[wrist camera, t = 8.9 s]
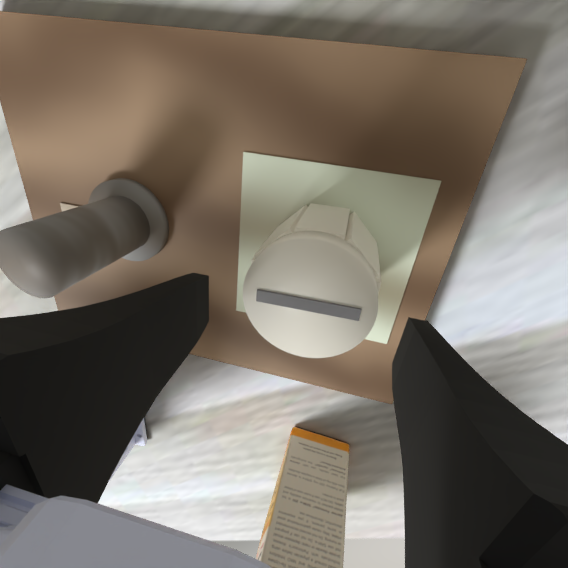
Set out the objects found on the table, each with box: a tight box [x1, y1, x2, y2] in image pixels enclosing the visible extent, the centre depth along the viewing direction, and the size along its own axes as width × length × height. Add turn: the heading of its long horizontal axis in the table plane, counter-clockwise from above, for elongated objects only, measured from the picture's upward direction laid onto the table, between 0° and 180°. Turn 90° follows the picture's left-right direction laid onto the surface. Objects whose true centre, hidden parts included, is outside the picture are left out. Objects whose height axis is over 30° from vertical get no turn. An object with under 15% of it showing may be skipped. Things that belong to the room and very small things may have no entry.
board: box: [0, 11, 527, 404], centre depth 15 cm, size 18×24×8 cm
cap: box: [243, 203, 381, 358], centre depth 14 cm, size 5×5×5 cm
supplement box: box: [256, 427, 349, 568], centre depth 21 cm, size 8×5×13 cm, turn 170°
